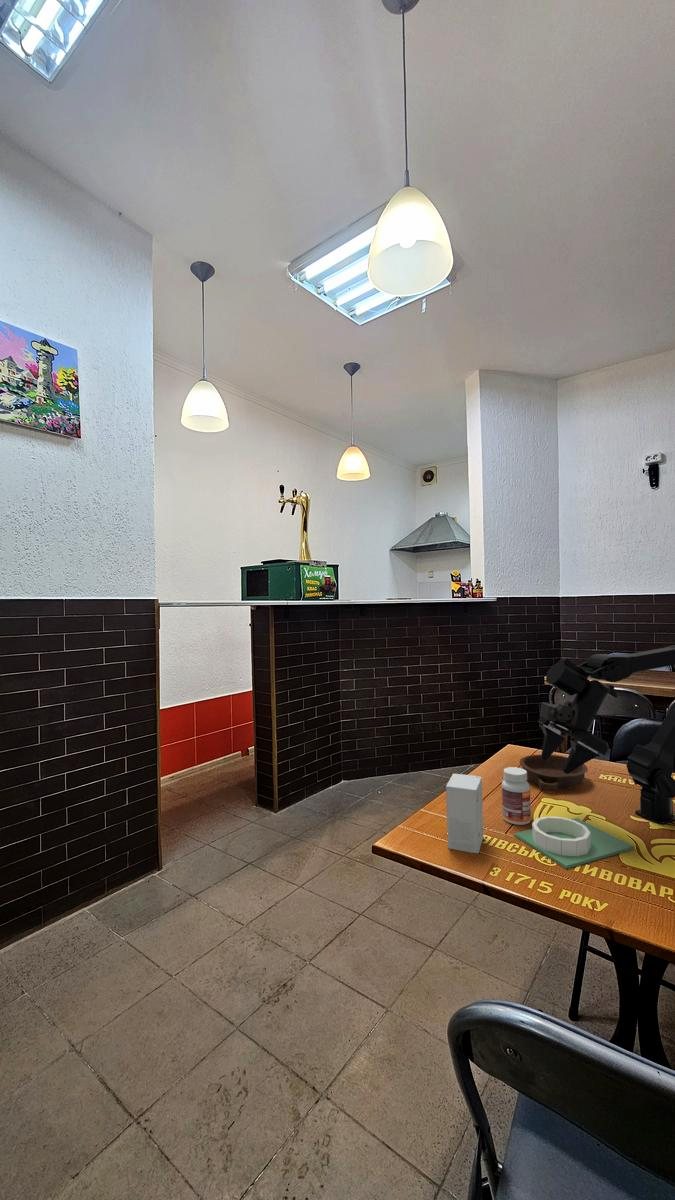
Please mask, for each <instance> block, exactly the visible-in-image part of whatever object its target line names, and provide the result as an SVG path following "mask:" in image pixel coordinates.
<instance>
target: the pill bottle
mask: <svg viewBox="0 0 675 1200" xmlns="http://www.w3.org/2000/svg"><path fill="white" fill-rule="evenodd" d="M501 792H502V793H501V797H502V798H501V800H502V817H503V820H504V821H505V822H507V823H509V824H511V825H512V824H513V825H516V826H517V825H519V826H524V825H527V824H529V823H531V822H532V821H531V820H532V816H531V815H532V811H531V786H530V783H529V782H528V778H527V771H526V770H524V769H523V768H520V767H515V766H511V767H509V766H508V767H505V768H503V780H502V781H501Z"/></svg>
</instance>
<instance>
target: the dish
mask: <svg viewBox="0 0 675 1200" xmlns="http://www.w3.org/2000/svg"><path fill="white" fill-rule="evenodd" d="M567 759H568V756H563V755H558V754H551V756H550V757H548V758H547V759H546V760H543V759H542V758H541V754H530V755H526V756H524V757H521V758H520V759H519V765H520V766H521V767H522V768H521V769H524V770H526V771H527V780H529V782H532V783H534V784H536V785H538V786H539V787H540V788H541V789H543V790H546V791H547V790H548V791H555V790H557V789H558V790H560V789H561V790H565V789H573V788H576V787H579V786H580V785H581V784H582V783H583V781H584V778H585V773H587V772H588V769H589V768H588V766H587V765H586V763H584V764H583V765H581V766H580V767H578V768H576V769H575V770H573V771H572V772H570V773H569V774H566V773H564V772H563V769H564V766H565V764H566V761H567Z"/></svg>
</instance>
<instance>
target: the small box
mask: <svg viewBox="0 0 675 1200" xmlns="http://www.w3.org/2000/svg"><path fill="white" fill-rule="evenodd" d="M482 780H483V779H482V776H478V775H473V774H472V775H471V774H461V773H452V775H451V776H450V778H449V780H448V782H447V784H446V785H445V799H446V827H447V831H446V832H447V848H448V849H450V850H455V851H459V852H461V851H462V852H466V853H471V854H479V853H480V849H481V846H482V842H483V841H484V840H483V839H484V817H483V814H484V813H483V811H484V810H483V784H482V783H483V781H482Z"/></svg>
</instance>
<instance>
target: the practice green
mask: <svg viewBox="0 0 675 1200" xmlns="http://www.w3.org/2000/svg"><path fill="white" fill-rule="evenodd" d="M531 827H532V828H530V829H527V830H522V831H517V832H514V833H513V837H515V838H516V839H518V840H519V841H521V842H523V843H524V844H526V845H528V846H529V847H530V848H532V849H534V850H535V851H537V852H538V853H540V854H541V855H544V856H545V857H546V858H548V859H550V860H552V861H553V862H555V863H556V864H557V865H559V866H561V867H562V868H564V869H565V870H568V869H570V868H574V867H577V866H582V865H585V864H588V863H592V862H594V861H598V860H603V859H604V858H608V857H612V856H615V855H618V854H623V853H626V852H628V851H634V849H635V846H634V845H632V844H630V843H628V842H627V841H624V840H623V839H621V838H618V837H616V836H614V835H612V834H610V833H608V832H606V831H604V830H602V829H600V828H598V827H596V826H594V825H592V824H590V823H588V822H586V821H584V820H582V819H580V818H578V817H576V818H571V819H570V818H567V817H563V816H562V817H561V816H549V815H548V816H543V817H537V818H535V819H534V821H533V822H532V824H531Z"/></svg>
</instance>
